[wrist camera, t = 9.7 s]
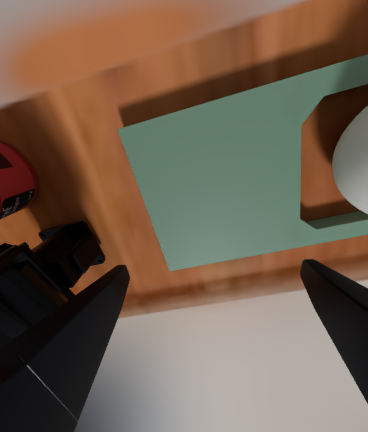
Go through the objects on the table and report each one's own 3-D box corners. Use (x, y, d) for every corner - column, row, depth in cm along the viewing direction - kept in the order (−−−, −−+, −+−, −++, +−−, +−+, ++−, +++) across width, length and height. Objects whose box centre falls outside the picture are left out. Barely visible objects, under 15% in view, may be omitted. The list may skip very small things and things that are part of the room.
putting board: (171, 261, 25) (169, 271, 23) (124, 130, 18) (117, 129, 16) (421, 213, 21) (443, 220, 19) (482, 23, 14) (525, 6, 12)
